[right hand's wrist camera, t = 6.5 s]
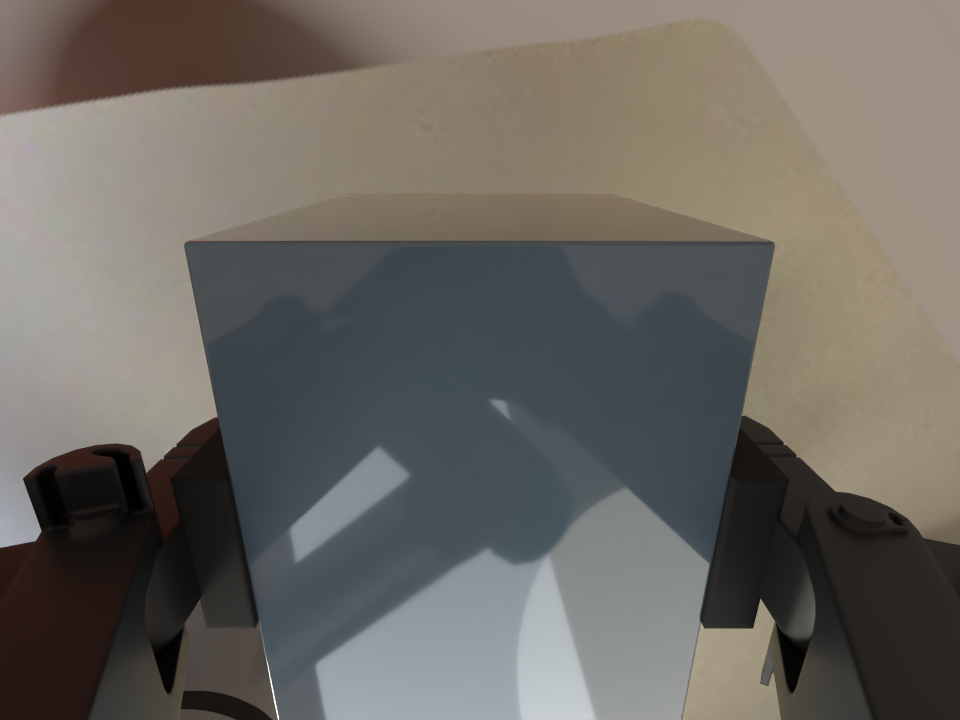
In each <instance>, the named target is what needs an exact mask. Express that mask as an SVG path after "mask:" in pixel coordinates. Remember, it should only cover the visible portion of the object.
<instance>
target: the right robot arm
mask: <svg viewBox="0 0 960 720" xmlns="http://www.w3.org/2000/svg"><path fill="white" fill-rule="evenodd" d="M23 480H24V483H25V486H26V489H27V491H28V494H29V497H30V500H31V503H32V505H33V508H34V511H35V514H36V516H37V519H38V522H39V525H40V527H41V530H42V532H41V533H40V535H39V537H38V539H37V540H36V541H34V542H29V543H24V544H19V545H14V546H8V547H3V548H0V720H278V719H277V714H276V709H275V704H274V699H273V694H272V689H271V684H270V679H269V673H268V668H267V663H266V658H265V653H264V648H263V643H262V638H261V633H260V628H259V623H258V618H257V613H256V607H255V602H254V597H253V592H252V587H251V582H250V577H249V572H248V567H247V562H246V557H245V552H244V547H243V541H242V536H241V531H240V526H239V521H238V516H237V511H236V506H235V501H234V496H233V491H232V486H231V481H230V475H229V470H228V465H227V460H226V455H225V450H224V445H223V440H222V435H221V430H220V425H219V420H218V418H213V419H211V420H209V421H208V422H206V423H204V424H202V425H200V426H198V427H196V428H194V429H193V430H191V431H190V432H189V433H188V434H187V435H186V436H185V437H184V438H183V439H182V440H181V441H180V442H179V443H178V444H177V447H173V448H172V449H171V450H170V451H169V452H168V453H167V454H166V455H165V456H164V460H160V461H159V462H158V463H157V464H156V465H155V466H153V467H152V468H151V469H150V470H149V471H148V472H147V473H146V471H145V467H144V463H143V460H142V456H141V452H140V451H139V450H138V449H136V448H135V447H133V446H131V445H124V444H104V445H95V446H91V447H86V448H82V449H77V450H74V451H71V452H68V453H65V454H63V455H60V456H57V457H54V458H52V459H50V460H49V461H47V462H45V463H43V464H41V465H39V466H37V467H36V468H34V469H33V470H32V471H31V472H30V473H29V474H28V475H26V476H25V477H24V478H23ZM760 598H761V600H762V601H763V603H764V604H765V606H766V608H767V609H768V611H769V612H770V614H771V615H772V617H773V619H774V620H775V624H774V627H773V631H772V635H771V639H770V643H769V646H768V650H767V654H766V658H765V662H764V666H763V669H762V674H761V682H760V684H762V685H766V686H769V682H770V678H771V675H772V673H774V676H775V683H776V689H777V696H778V702H779V708H780V715H781V720H960V545H955V544H950V543H945V542H939V541H934V540H929V539H924V538H923V537H922V536H921V534H920V532H919V531H918V530H917V528H916V527H915V526H914V525H913V524H912V523H911V522H910V521H909V520H908V519H907V518H906V517H904V516H903V515H901V514H900V513H898V512H897V511H895V510H893V509H892V508H890V507H888V506H886V505H884V504H881V503H879V502H877V501H874V500H872V499H870V498H866V497H862V496H858V495H854V494H850V493H843V492H835V491H834V490H833V489H832V488H831V487H830V486H829V485H828V484H827V483H826V482H825V481H824V480H823V479H822V478H820V477H819V476H818V475H817V474H816V473H815V472H814V471H813V470H812V469H811V468H810V467H809V466H808V465H807V464H806V463H805V462H804V461H803V460H801V459H800V458H796V454H795V453H794V452H793V451H792V450H791V449H790V448H789V447H788V446H787V445H783V441H781V440H780V439H779V438H778V437H777V436H776V435H775V434H774V433H773V432H772V431H771V430H770V429H769V428H767V427H765V426H764V425H762V424H760V423H758V422H756V421H754V420H752V419H750V418H748V417H747V416H742V417H741V422H740V427H739V432H738V437H737V442H736V447H735V452H734V457H733V462H732V467H731V473H730V478H729V483H728V488H727V493H726V498H725V503H724V508H723V513H722V518H721V523H720V529H719V534H718V539H717V544H716V549H715V554H714V559H713V564H712V569H711V574H710V579H709V584H708V590H707V595H706V600H705V605H704V610H703V615H702V620H701V622H702V624H703V626H704V628H753V627H754V622H755V618H756V614H757V610H758V606H759V602H760Z"/></svg>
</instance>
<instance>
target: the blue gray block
mask: <svg viewBox="0 0 960 720" xmlns="http://www.w3.org/2000/svg"><path fill="white" fill-rule="evenodd" d="M184 247H185V252H186V257H187V262H188V267H189V272H190V278H191V283H192V288H193V293H194V298H195V303H196V308H197V313H198V318H199V323H200V328H201V333H202V338H203V344H204V349H205V354H206V359H207V364H208V369H209V374H210V379H211V384H212V389H213V394H214V399H215V404H216V409H217V415H218V420H219V425H220V430H221V435H222V440H223V445H224V450H225V455H226V460H227V465H228V470H229V475H230V481H231V486H232V491H233V496H234V501H235V506H236V511H237V516H238V521H239V526H240V531H241V536H242V541H243V547H244V552H245V557H246V562H247V567H248V572H249V577H250V582H251V587H252V592H253V597H254V602H255V607H256V613H257V618H258V623H259V628H260V633H261V638H262V643H263V648H264V653H265V658H266V663H267V668H268V673H269V679H270V684H271V689H272V694H273V699H274V704H275V709H276V714H277V719H278V720H682V717H683V712H684V707H685V702H686V696H687V691H688V686H689V681H690V676H691V671H692V666H693V661H694V656H695V651H696V646H697V640H698V635H699V630H700V625H701V620H702V615H703V610H704V605H705V600H706V595H707V590H708V584H709V579H710V574H711V569H712V564H713V559H714V554H715V549H716V544H717V539H718V534H719V529H720V523H721V518H722V513H723V508H724V503H725V498H726V493H727V488H728V483H729V478H730V473H731V467H732V462H733V457H734V452H735V447H736V442H737V437H738V432H739V427H740V422H741V417H742V411H743V406H744V401H745V396H746V391H747V386H748V381H749V376H750V371H751V366H752V361H753V356H754V350H755V345H756V340H757V335H758V330H759V325H760V320H761V315H762V310H763V305H764V300H765V294H766V289H767V284H768V279H769V274H770V269H771V264H772V259H773V254H774V249H775V243H774V242H772V241H769V240H766V239H763V238H759V237H756V236H752V235H749V234H746V233H742V232H739V231H735V230H732V229H729V228H725V227H722V226H719V225H715V224H712V223H708V222H705V221H702V220H698V219H695V218H691V217H688V216H685V215H681V214H678V213H675V212H671V211H668V210H664V209H661V208H658V207H654V206H651V205H648V204H644V203H641V202H637V201H634V200H631V199H627V198H624V197H620V196H617V195H614V194H346V195H343V196H339V197H336V198H332V199H329V200H326V201H322V202H319V203H315V204H312V205H309V206H305V207H302V208H298V209H295V210H292V211H288V212H285V213H282V214H278V215H275V216H271V217H268V218H265V219H261V220H258V221H254V222H251V223H248V224H244V225H241V226H238V227H234V228H231V229H227V230H224V231H221V232H217V233H214V234H210V235H207V236H204V237H200V238H197V239H193V240H190V241H187V242H185V245H184Z"/></svg>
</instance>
